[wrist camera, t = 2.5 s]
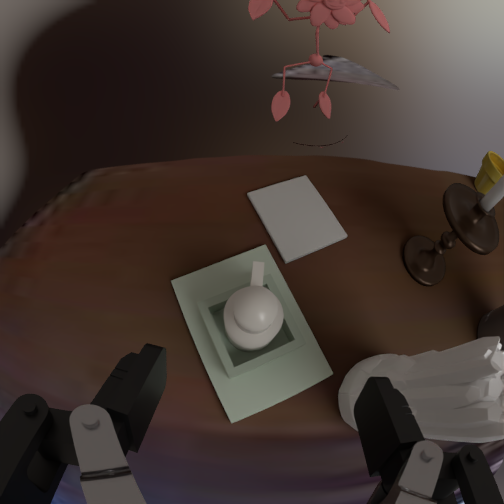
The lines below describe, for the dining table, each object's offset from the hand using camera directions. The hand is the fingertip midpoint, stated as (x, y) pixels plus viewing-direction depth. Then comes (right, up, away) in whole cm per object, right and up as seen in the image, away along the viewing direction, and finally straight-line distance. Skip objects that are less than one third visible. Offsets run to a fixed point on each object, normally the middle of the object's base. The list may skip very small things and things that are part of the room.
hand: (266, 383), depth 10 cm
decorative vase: (+16, -14, +22) cm, 31 cm away
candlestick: (+28, +3, +32) cm, 43 cm away
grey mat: (+6, +11, +34) cm, 36 cm away
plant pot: (+59, +21, +43) cm, 75 cm away
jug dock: (-1, -5, +25) cm, 26 cm away
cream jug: (-1, -3, +25) cm, 25 cm away
